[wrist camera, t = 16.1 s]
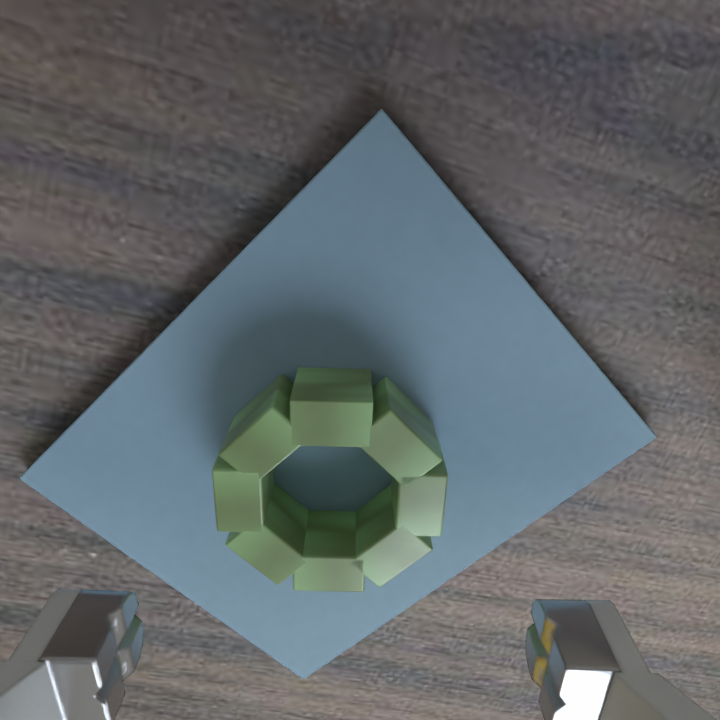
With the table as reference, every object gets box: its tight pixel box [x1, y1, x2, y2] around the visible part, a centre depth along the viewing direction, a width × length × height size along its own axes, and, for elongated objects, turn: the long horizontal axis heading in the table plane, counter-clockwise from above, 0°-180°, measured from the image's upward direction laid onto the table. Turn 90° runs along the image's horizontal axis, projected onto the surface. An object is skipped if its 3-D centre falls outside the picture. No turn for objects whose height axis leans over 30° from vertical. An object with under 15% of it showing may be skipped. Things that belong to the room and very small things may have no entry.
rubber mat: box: [20, 109, 656, 679], centre depth 18 cm, size 16×13×1 cm
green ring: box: [212, 367, 448, 592], centre depth 17 cm, size 7×7×2 cm
